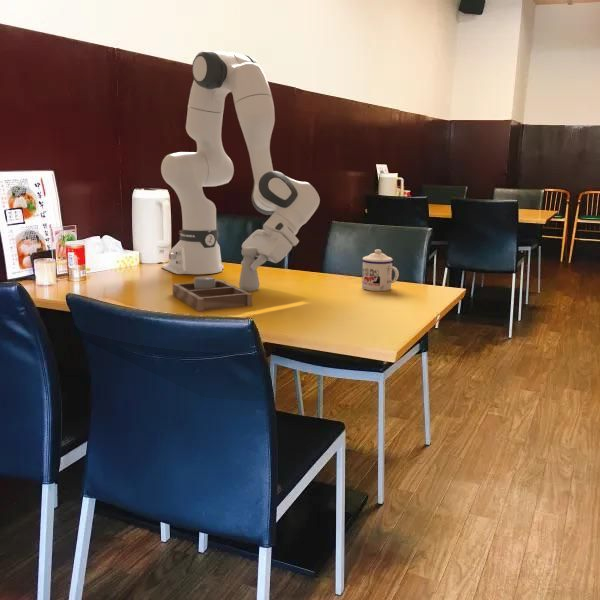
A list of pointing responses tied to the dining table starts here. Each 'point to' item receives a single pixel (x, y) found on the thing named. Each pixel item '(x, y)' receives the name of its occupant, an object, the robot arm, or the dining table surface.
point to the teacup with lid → (378, 272)
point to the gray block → (204, 282)
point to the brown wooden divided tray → (213, 296)
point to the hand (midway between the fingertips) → (247, 267)
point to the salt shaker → (248, 271)
